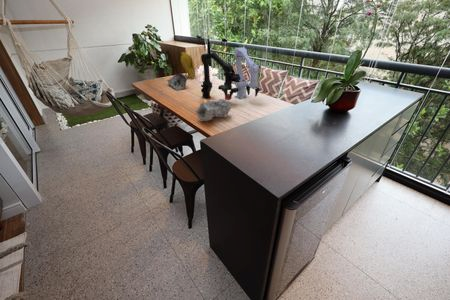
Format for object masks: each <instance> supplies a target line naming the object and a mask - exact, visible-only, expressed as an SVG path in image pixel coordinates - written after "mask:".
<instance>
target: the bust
mask: <svg viewBox="0 0 450 300" xmlns="http://www.w3.org/2000/svg"><path fill="white" fill-rule="evenodd" d="M231 108H232V107H231V104H230V103H229V101H228V100H225V99H223V98H221V99H219V100H211V101H206V102H204V101H202V102H201V103H200V104H199V106H198V107H197V109H196V110H195V113H196V115H197V118H198V120H199V122H200V123H202V122H209V121H212V119H213V117H214V118H227V116H229V113H230V112H231Z"/></svg>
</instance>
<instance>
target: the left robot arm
mask: <svg viewBox="0 0 450 300" xmlns="http://www.w3.org/2000/svg"><path fill="white" fill-rule="evenodd" d="M200 59H201V63H202V64H203V77H204V81H203V85H202V88H201V89H200V92H201V93H202V99H205V100H207V99H210V98H212V97H211V90H212V88H213V82H211V76H210V63H211V59H212V60H213V61H215V63H217V64H218V65H219V66H220V68H221V69H222V71H223V72H224V73H223V74H222V75H223V76H224V82H223V83H224V84H220V85H218V86H217V87H218V88H217V89H218V90H219V91H222V92H223V93H224V96H225V95H226V94H230V100H232V99H231V97H233V94H237V92H238V91H239V89H238V88H236V87H233V83H235V82H237V83H239V81H241V80H240V76H239V74H237V73H236V72H235V69H234V67H233V65H232V64H231V63H228V62H225V60H223V59H222V58H221V57H220V56H219V55H218V54H217V53H216V52H210V53H208V52H207V53H203V54H201V55H200ZM228 91H229V92H228Z"/></svg>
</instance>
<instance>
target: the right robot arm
mask: <svg viewBox="0 0 450 300" xmlns="http://www.w3.org/2000/svg"><path fill="white" fill-rule="evenodd" d="M247 52H248V50H247V48H246V47H245V46H242V47H234V49H233V57H234V62H235V68H236V74H239V76H240V81H239V83H237V82H234V83H235V84H234V86H235V88H238V89H239V91H238V92H236V95H235V96H234V97H235V98H237V99H244V98H246V97H247V95H248V96H249V95H250V93H251V91H250V90H251V88H253V89H254V92H255V93H254V95H255V96H254V97H255V98H256V97H257V96H258V95H259V91H260V90H261V89H262V86H261V85H258V84H257V82H258V81H257V80H258V73H259V72H260V66H259V65H258V64H256V63H255V61H254V60H253V59H252V58H250V56H249V54H248V53H247ZM242 59H243V60H245V63H246V66H247V67H248V69H249V75H250V78H249V83H247V80H246V78H245V77H244V74H243V73H244V72H243V65H242Z"/></svg>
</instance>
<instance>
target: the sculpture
mask: <svg viewBox="0 0 450 300" xmlns="http://www.w3.org/2000/svg"><path fill="white" fill-rule="evenodd" d="M180 54H181V56H180V62H181V65H182V67H183V70H184V71H185V73H184V76H185V77H186V79H188V78H195V77H196V70H195V64H194V60H193V57H192V56H191V55H190V54H188V53H186V52H185V51H182V52H181V53H180Z"/></svg>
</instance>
